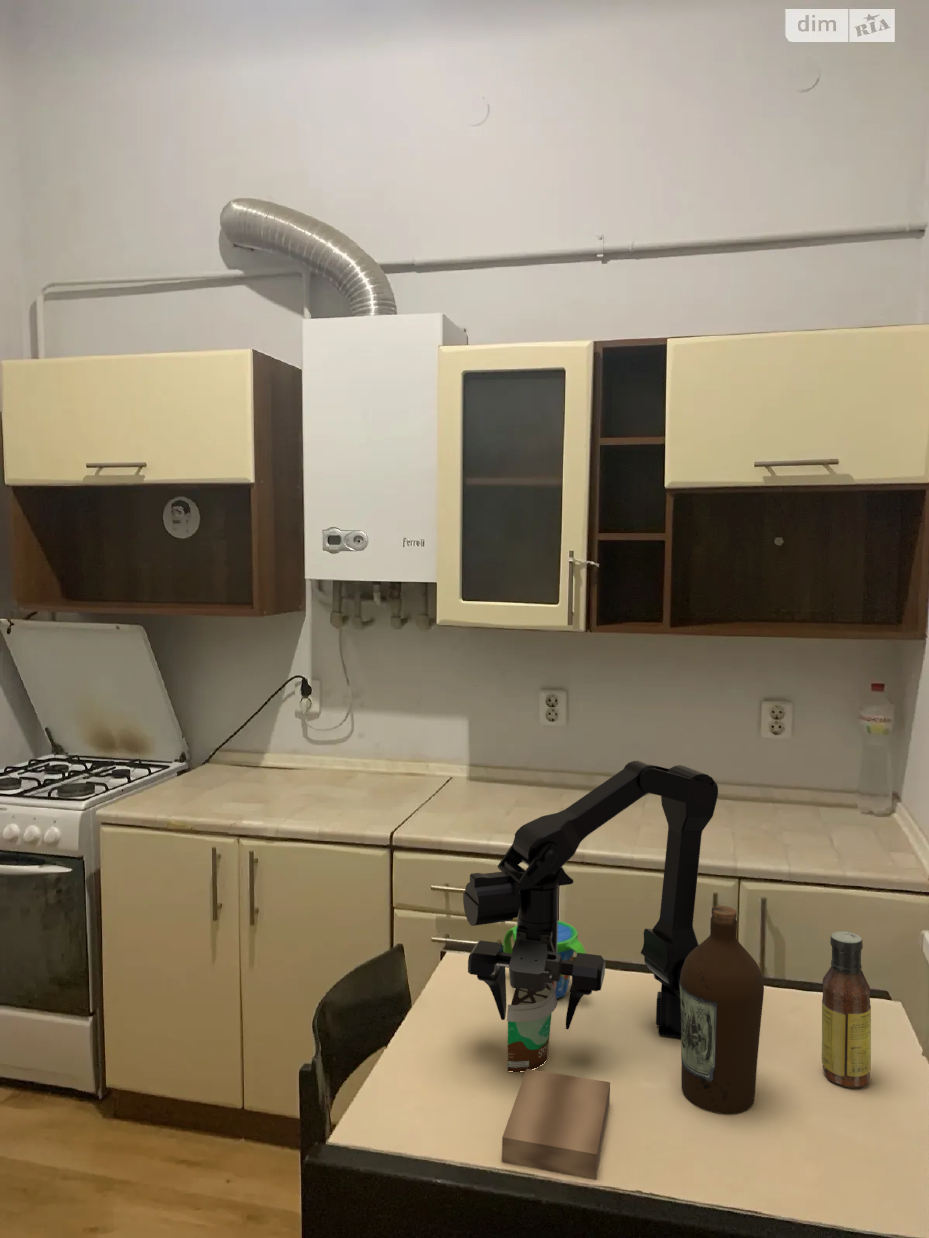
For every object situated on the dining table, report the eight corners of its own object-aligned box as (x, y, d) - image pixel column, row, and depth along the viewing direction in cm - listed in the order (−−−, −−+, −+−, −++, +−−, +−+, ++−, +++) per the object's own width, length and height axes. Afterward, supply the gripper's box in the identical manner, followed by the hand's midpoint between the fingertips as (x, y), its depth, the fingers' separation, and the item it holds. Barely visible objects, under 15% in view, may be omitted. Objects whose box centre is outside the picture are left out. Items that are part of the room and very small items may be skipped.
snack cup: (487, 985, 151) (488, 925, 151) (528, 966, 159) (529, 908, 158) (561, 1019, 140) (563, 955, 140) (602, 997, 148) (603, 935, 147)
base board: (609, 1104, 119) (610, 1081, 119) (596, 1179, 104) (596, 1153, 104) (526, 1090, 122) (526, 1068, 121) (501, 1161, 107) (502, 1136, 107)
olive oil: (722, 1064, 129) (728, 890, 127) (777, 1105, 119) (784, 918, 117) (660, 1081, 124) (666, 901, 123) (712, 1125, 115) (719, 931, 113)
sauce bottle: (870, 1071, 127) (877, 932, 126) (869, 1095, 122) (876, 949, 120) (820, 1060, 130) (826, 923, 129) (817, 1082, 125) (823, 940, 123)
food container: (550, 1083, 123) (552, 1011, 123) (505, 1077, 124) (507, 1006, 124) (559, 1037, 135) (561, 971, 135) (518, 1032, 137) (520, 967, 136)
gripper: (458, 930, 123) (456, 1042, 124) (597, 947, 118) (594, 1063, 119) (478, 900, 134) (476, 1004, 135) (606, 915, 129) (603, 1022, 130)
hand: (535, 1023), depth 130 cm, fingers open, 9 cm apart
